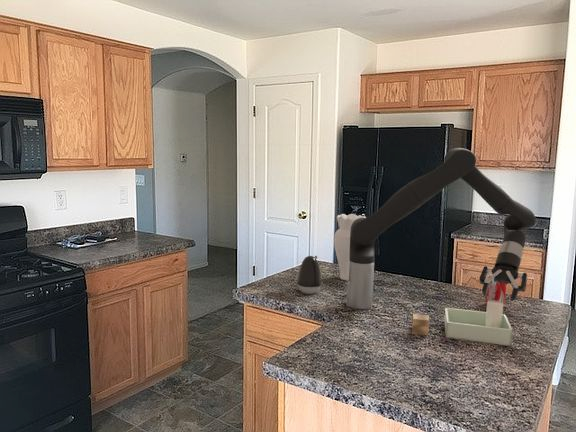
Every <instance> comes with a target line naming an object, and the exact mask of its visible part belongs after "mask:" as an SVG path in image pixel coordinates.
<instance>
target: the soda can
mask: <svg viewBox="0 0 576 432" xmlns="http://www.w3.org/2000/svg"><path fill="white" fill-rule="evenodd" d="M491 275H492V273H489V275H488V277H486V279H488V278H489V277H490V276H491ZM507 285H508V284H505V283H498V282H495V283H494V284H491V285H490V286H489V288H488V292H487V295H486V296H485V303H486V304H487V301H489V300H494V301H499V302H502V303H503V306H505V303H506V302H505V301H506V296H507V295H506V294H507Z"/></svg>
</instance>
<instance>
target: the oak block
mask: <svg viewBox="0 0 576 432" xmlns="http://www.w3.org/2000/svg"><path fill="white" fill-rule="evenodd" d="M412 315H413V316H412V317H413V318H412V329H411V330H412V331H411V333H412V334H415V335H422V336H423V335H424V336H429V328H430V326H429V325H430V315H427V314H419V313H413V314H412Z"/></svg>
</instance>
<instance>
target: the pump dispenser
mask: <svg viewBox="0 0 576 432" xmlns="http://www.w3.org/2000/svg"><path fill="white" fill-rule="evenodd" d="M322 277H323V276H322V271H321V268H320V265H319V262H318V255H314V256H313V255H307V256H306V257H304V258H303V260H302V261H301V264H300V267H299V270H298V274H297V278H296V279H297V280H296V284H297V286H298V289H299V291H301V293H303V294H307V295H313V294H316V293H318V292H319V291H320V289H321V288H322V287H321V286H322V285H323V280H322V279H323V278H322Z"/></svg>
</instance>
